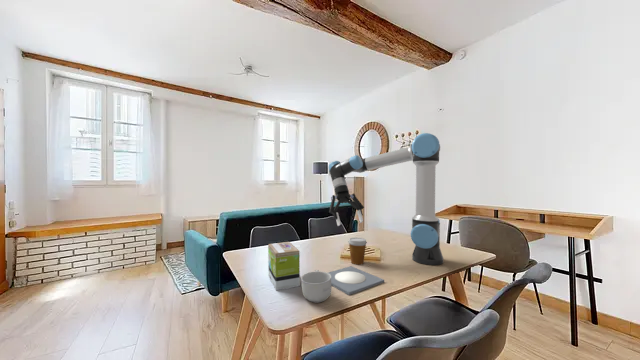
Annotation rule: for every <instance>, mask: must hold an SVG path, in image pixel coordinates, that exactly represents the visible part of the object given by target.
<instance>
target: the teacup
mask: <svg viewBox="0 0 640 360" xmlns="http://www.w3.org/2000/svg"><path fill="white" fill-rule="evenodd" d="M300 281H301V291H302V295H303V297H304V299H306V300H308V301H309V302H312V303H321V302H322V303H323V302H324V301H326V300H327V299H328V298H329V297H330V296H331V295H332V286H331V275H330V274H329V273H328V272H327V271H319V269H316V270H314V271H310V272H306V273H304V274H303V275H302V276H301V278H300Z"/></svg>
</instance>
